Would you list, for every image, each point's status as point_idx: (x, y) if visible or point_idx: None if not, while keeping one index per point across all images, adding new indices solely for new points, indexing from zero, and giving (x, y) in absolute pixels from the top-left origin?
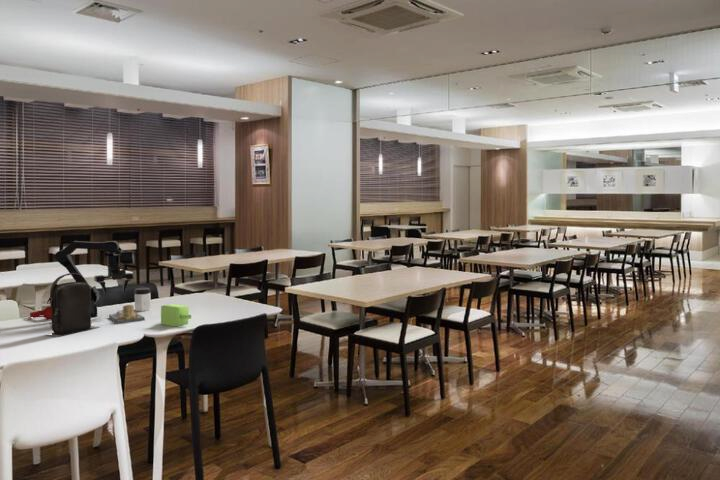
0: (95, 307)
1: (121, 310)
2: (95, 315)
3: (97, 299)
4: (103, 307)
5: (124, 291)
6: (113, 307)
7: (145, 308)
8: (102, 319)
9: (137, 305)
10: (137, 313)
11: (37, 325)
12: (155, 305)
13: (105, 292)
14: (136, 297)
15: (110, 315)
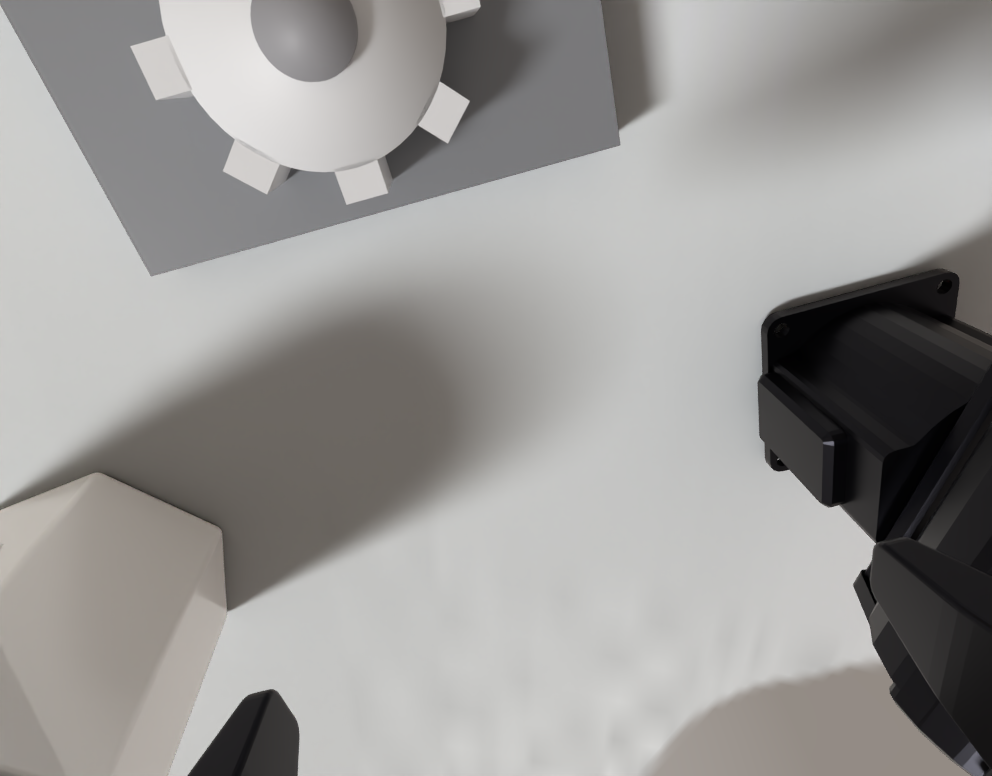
0: (859, 422)
1: (373, 120)
2: (788, 341)
3: (931, 534)
4: (613, 770)
5: (227, 723)
6: (516, 752)
7: (26, 512)
8: (728, 27)
9: (143, 570)
10: (17, 30)
11: None
12: None
13: (953, 577)
14: (82, 711)
15: (598, 72)
